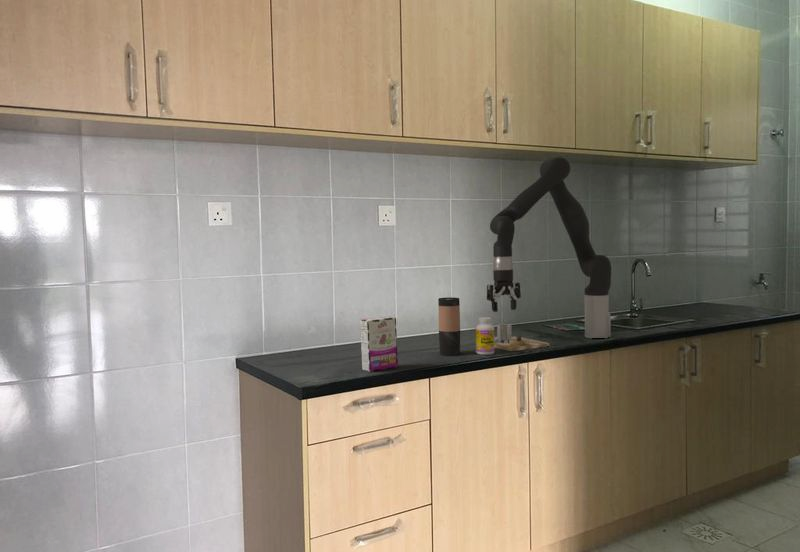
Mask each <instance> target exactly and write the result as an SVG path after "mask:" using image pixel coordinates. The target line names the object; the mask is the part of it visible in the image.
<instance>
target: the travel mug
mask: <svg viewBox="0 0 800 552" xmlns="http://www.w3.org/2000/svg"><path fill="white" fill-rule="evenodd" d="M437 302H438V303H437V304H438V342H439V355H440V356H445V357H455V356H456V357H457V356H460V354H461V311H460V310H461V307H460V298H459V297H454V296H453V297H439V298H438V300H437Z"/></svg>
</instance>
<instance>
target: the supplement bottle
mask: <svg viewBox="0 0 800 552" xmlns="http://www.w3.org/2000/svg"><path fill="white" fill-rule="evenodd" d="M477 320H478V321H477V322H478V324H477V325H476V326H475V331H474V332H475V354H477V355H481V356H489V355H494V354H495V347H494V337H495V326H494V325H493V324H492V317H490V316H479V317H478V319H477Z"/></svg>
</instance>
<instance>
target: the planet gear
mask: <svg viewBox="0 0 800 552" xmlns="http://www.w3.org/2000/svg"><path fill="white" fill-rule="evenodd" d="M496 326H497V327H496V330H497V331H496V334H497V336H494V343H504V344H506V343H510V340H513V339H517V338H516V337H517V336H516V337H513V336H512V334H513V333H512V331H513V329H512V324H504V323H502V324H497V325H496Z"/></svg>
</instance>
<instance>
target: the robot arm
mask: <svg viewBox="0 0 800 552" xmlns="http://www.w3.org/2000/svg"><path fill="white" fill-rule="evenodd" d="M570 171H571V164H570V162H569V160H568V159H566V158H565V157H560V156H559V157H554V158H553V157H552V158H550V159H549V158H548V159H546V160H544V161H543V162H542V163H541V164H540V166H539V175H540V177H539V178H538V179H537V180H536V181H535V182H533V183H532V184H531V185H530V186H528V187H526V188H525V189H524V190H523V191H521V192H520V193H519V194H518V195H517V196H516V197H515V198H514V199H513V200H512V201H511V203H510V204H508V206H507V207H504V208H503V209H502V210H500V211H499V213H497V214H496V215H494V217H493V218H492V219H491V221H490V222H489V229H490V231H491V232H492V234H494V235H497V236H496V237H497V238H496V241H495V242H494V243H493V261H492V268H493V269H492V272H493V273H492V274H493V282H494V283H493V284H487V285H486V300H487V301H489V302H491V311H492V312H494V313H497V312H498V310H499V309H498V300H499V298H500V297H501V296H508V297H509V298H510V310H511V311H514V310H515V311H516V309H517V300H518V299H521V297H522V295H521V283H520V282H514V261H513V248H512V245H513V241H514V236H515V232H516V231H515V227H516V226H515V222H516V221H518V220H521V219H522V218H523V217H524V216H525V215H527V213H528V212H529V211H531V209H532V208H533V207H534V206H535V205H536V204H537V203H538V202H539V201H540V199H542V198H543V197H544V196H545V195H546V194H548V193H549V194H550V196H551V198H552V200H553V203H554V205H555V207H556V209H557V212H558V214H559V217H560V219H561V221H562V224H563V225H564V228H565V230H566V232H567V235H568V237H569V239H570V242H571V243H572V246H573V249H574V251H575V254H576V258H577V260H578V264H579V268H580V269H581V272H582V273H583V274H584V276H586V277H587V278H589V284H588V285H587V286H586V287H585V288H584V337H585V338H586V339H592V338H605V339H609V338H611V337H612V336H611V335H612V334H611V333H612V332H611V327H612V326H611V325H612V324H611V318H612V317H611V316H612V315H611V313H609V307H610V306H609V304H610V303H609V299H610V298H609V296H610V295H609V294H610V293H609V291H610V288H611V285H612V283H611V282H612V264H611V261H610V259H609V257H607V256H606V255H603V254H597V253H596V252H595V250H594V248H593V245H592V243H591V240H590V222H589V219H588V217H587V214H586V212H585V209H584V208H583V206H582V205H581V203H580V202H579V201H578V200H577V198H576V197H575V196H574V195H573V194H572V193H571V192H570V191H569V189H568V188H567V185H566V184H565V181H564V180H565V179H567V178H568V176H569V174H570ZM608 337H609V338H608Z"/></svg>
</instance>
